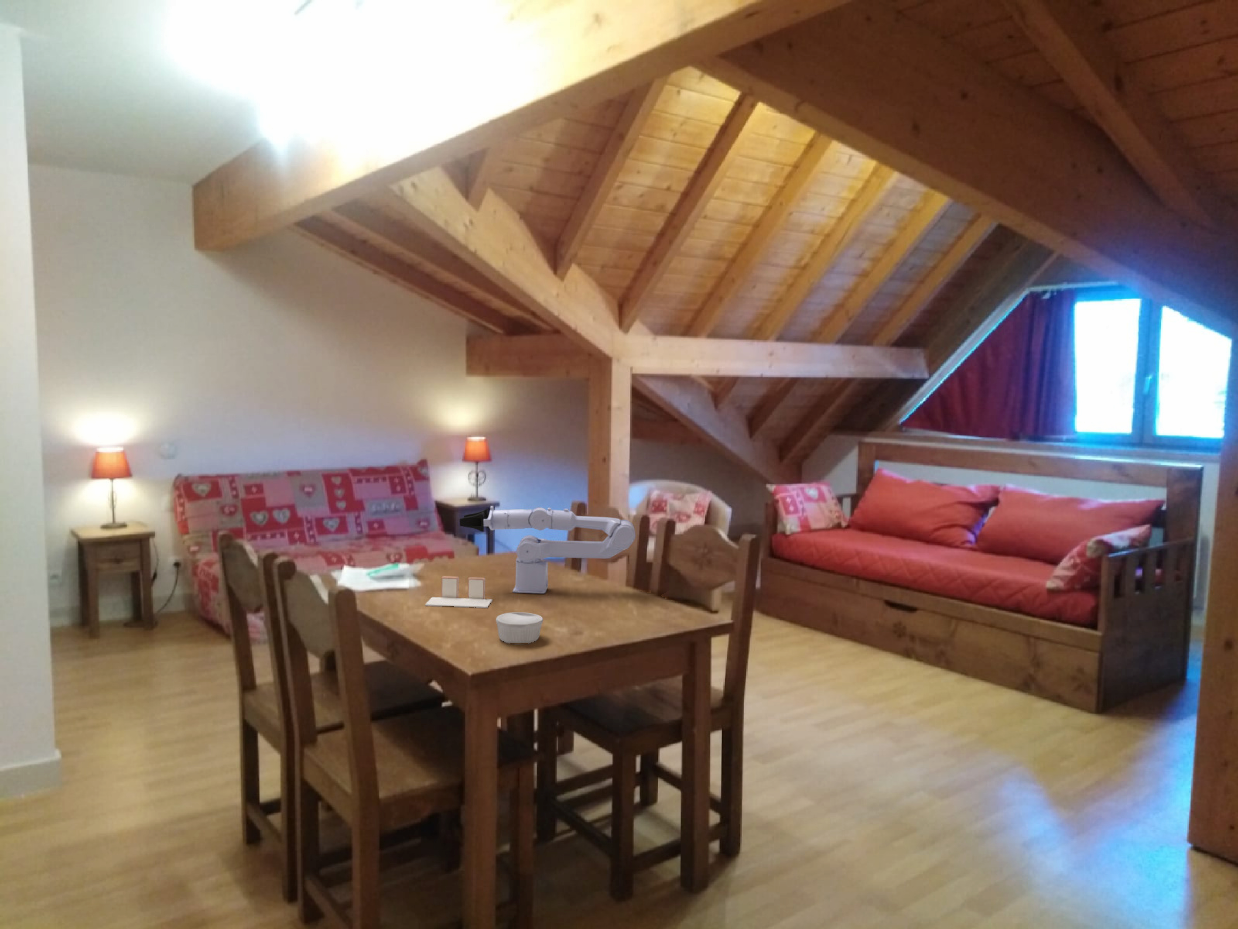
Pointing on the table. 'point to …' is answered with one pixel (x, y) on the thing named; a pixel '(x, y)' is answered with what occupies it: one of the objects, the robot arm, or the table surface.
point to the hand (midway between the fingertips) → (462, 520)
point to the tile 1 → (450, 587)
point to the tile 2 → (476, 588)
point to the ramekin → (519, 627)
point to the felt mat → (459, 602)
